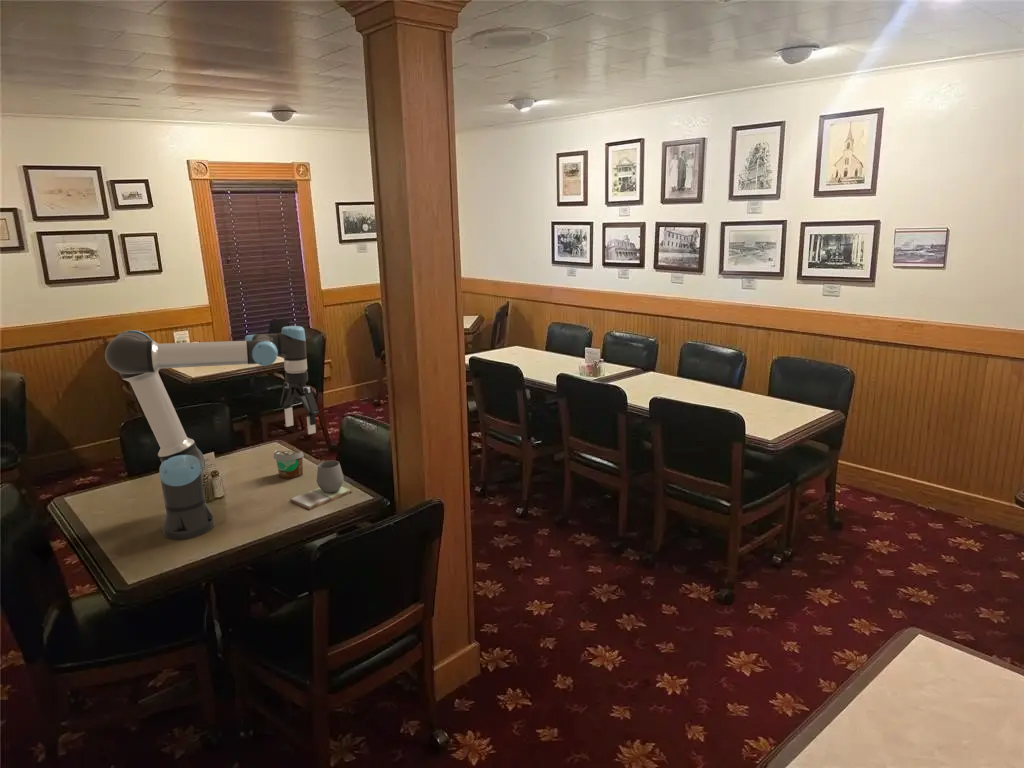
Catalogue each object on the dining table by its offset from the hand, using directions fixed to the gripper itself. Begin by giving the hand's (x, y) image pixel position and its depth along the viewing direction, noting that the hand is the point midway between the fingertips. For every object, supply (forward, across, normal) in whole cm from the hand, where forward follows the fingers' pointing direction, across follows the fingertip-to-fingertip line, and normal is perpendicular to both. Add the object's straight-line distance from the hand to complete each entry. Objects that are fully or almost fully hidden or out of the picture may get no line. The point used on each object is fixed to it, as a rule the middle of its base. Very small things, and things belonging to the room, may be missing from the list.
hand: (300, 429), depth 235 cm
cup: (+23, -7, -6) cm, 25 cm away
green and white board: (+24, -7, -2) cm, 25 cm away
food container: (+25, +20, -6) cm, 32 cm away
